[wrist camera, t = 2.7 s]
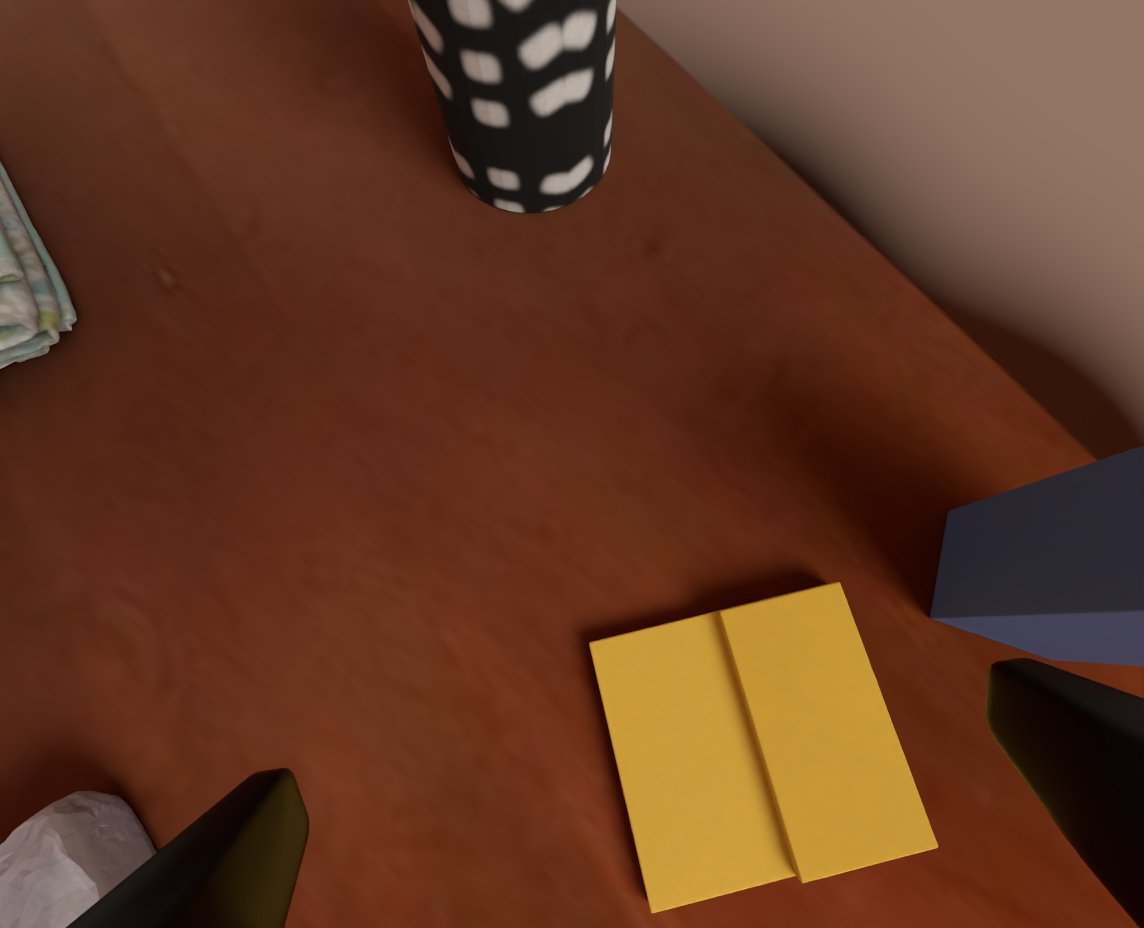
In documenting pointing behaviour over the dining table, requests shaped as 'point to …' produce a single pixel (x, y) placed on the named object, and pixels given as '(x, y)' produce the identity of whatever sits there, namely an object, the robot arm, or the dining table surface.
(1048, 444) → the dining table surface
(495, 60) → the spotted tube
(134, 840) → the stone block
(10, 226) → the towel
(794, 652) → the cloth
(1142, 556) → the block
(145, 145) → the dining table surface
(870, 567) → the dining table surface
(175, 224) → the dining table surface
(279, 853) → the robot arm
